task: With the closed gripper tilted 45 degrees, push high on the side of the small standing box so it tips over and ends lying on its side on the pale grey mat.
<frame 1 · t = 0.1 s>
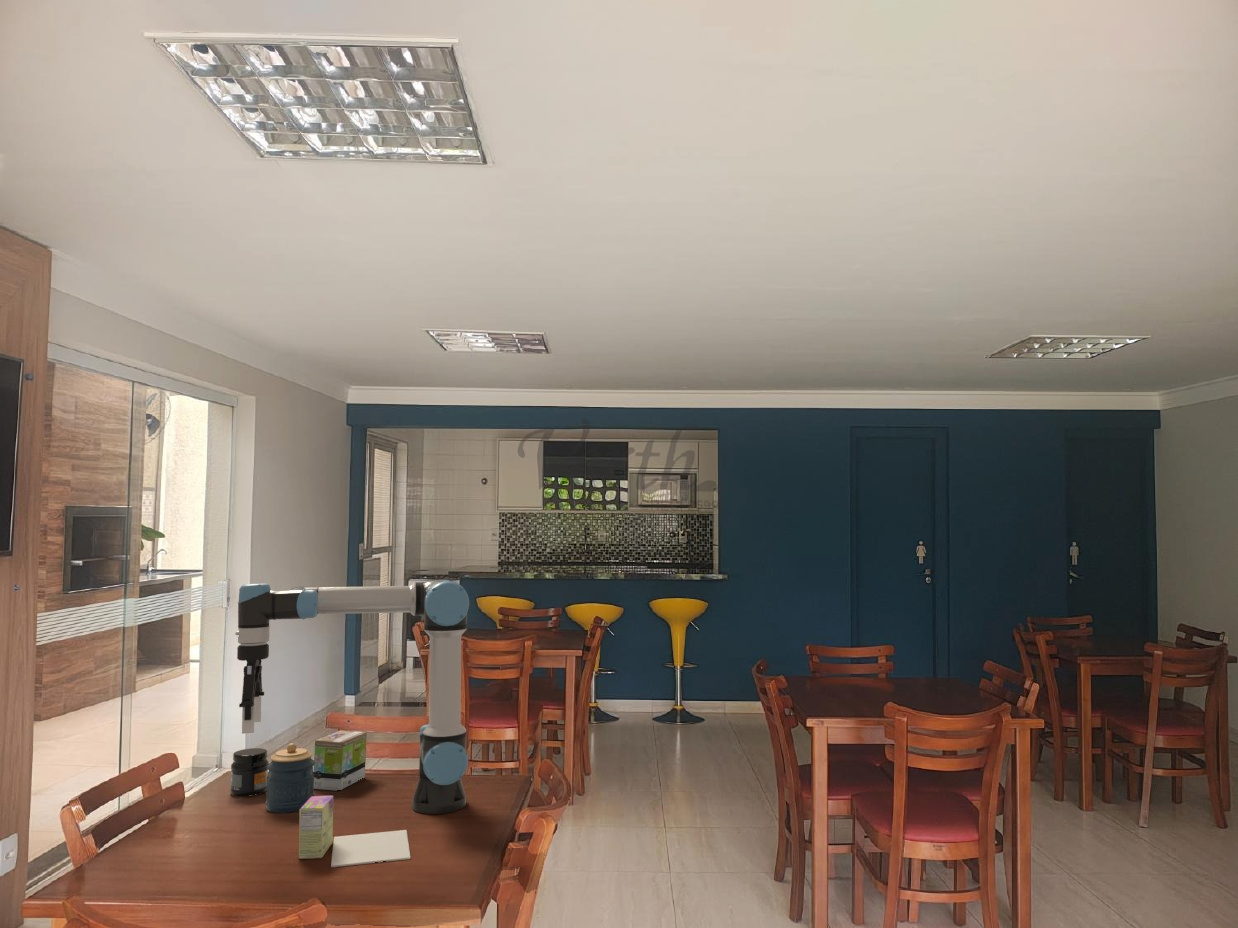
hand: (251, 727, 219), 28 cm above the table, tool pointing down, fingers open, 13 cm apart
tea box: (339, 784, 266), on the table
mat: (370, 848, 210), on the table
supplement container: (248, 793, 256), on the table
canister: (289, 807, 243), on the table
box: (315, 852, 208), on the table
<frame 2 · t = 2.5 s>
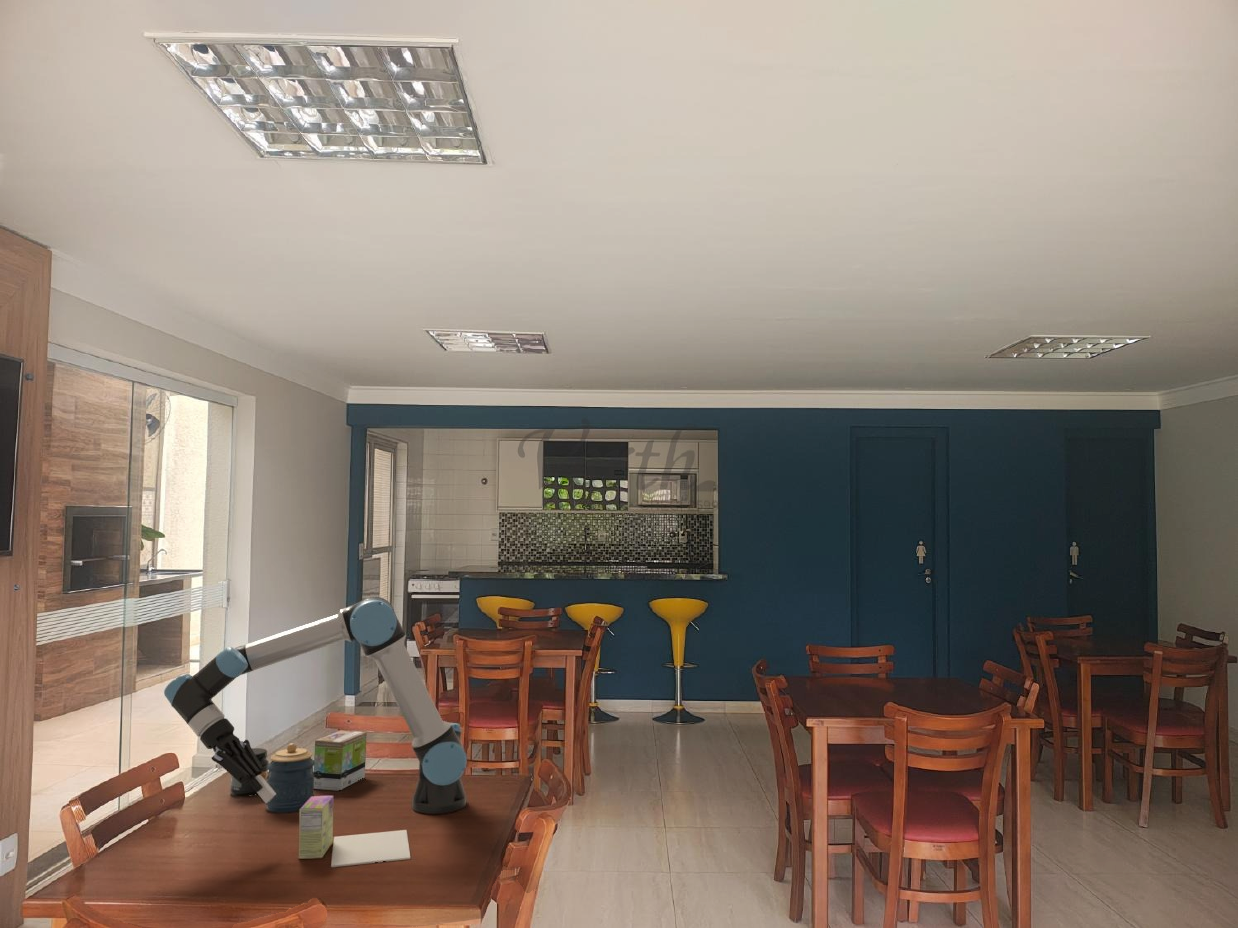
hand: (271, 798, 211), 12 cm above the table, tool tilted 45°, fingers closed
nothing on the table moved.
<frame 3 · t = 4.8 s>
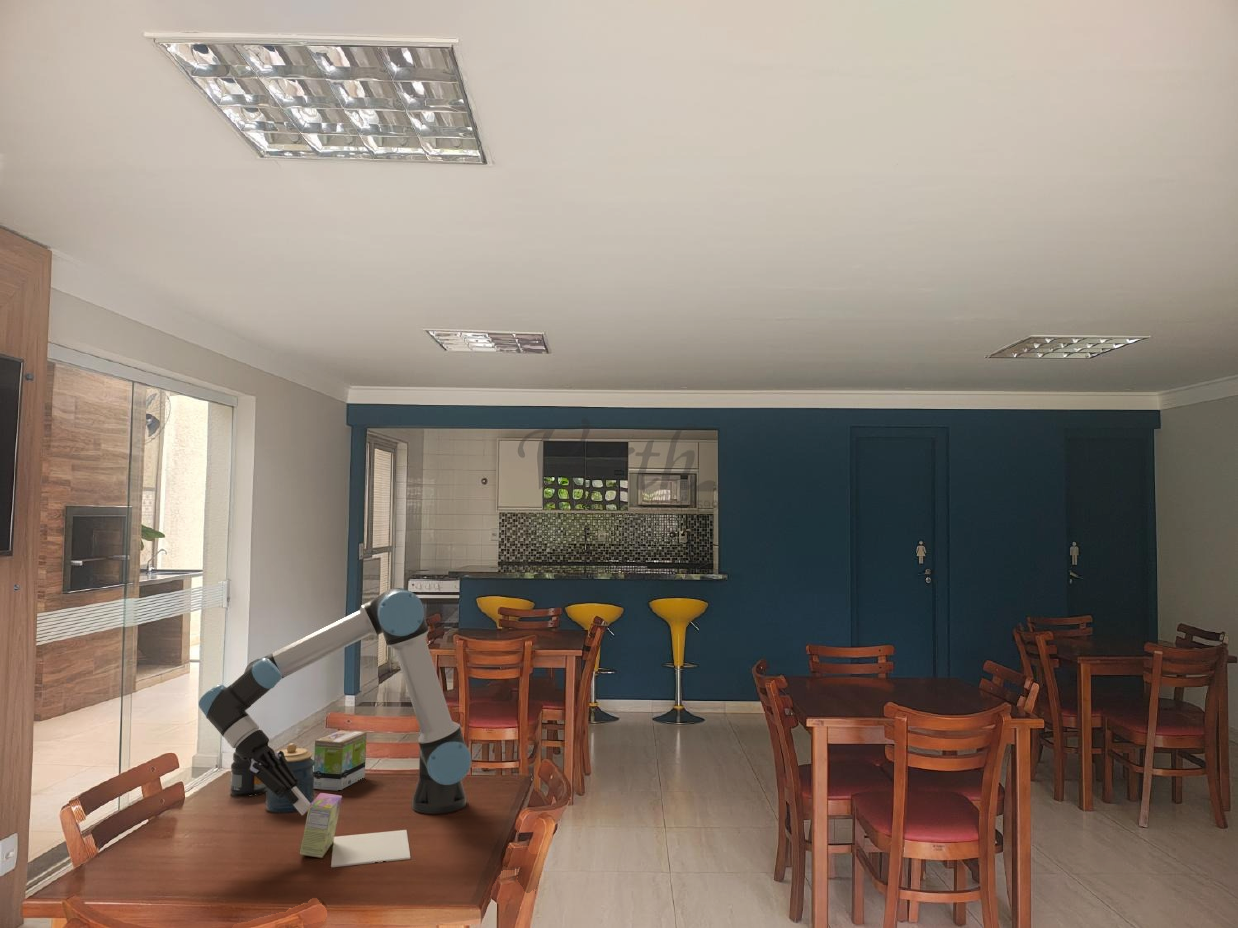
hand: (307, 810, 209), 10 cm above the table, tool tilted 45°, fingers closed
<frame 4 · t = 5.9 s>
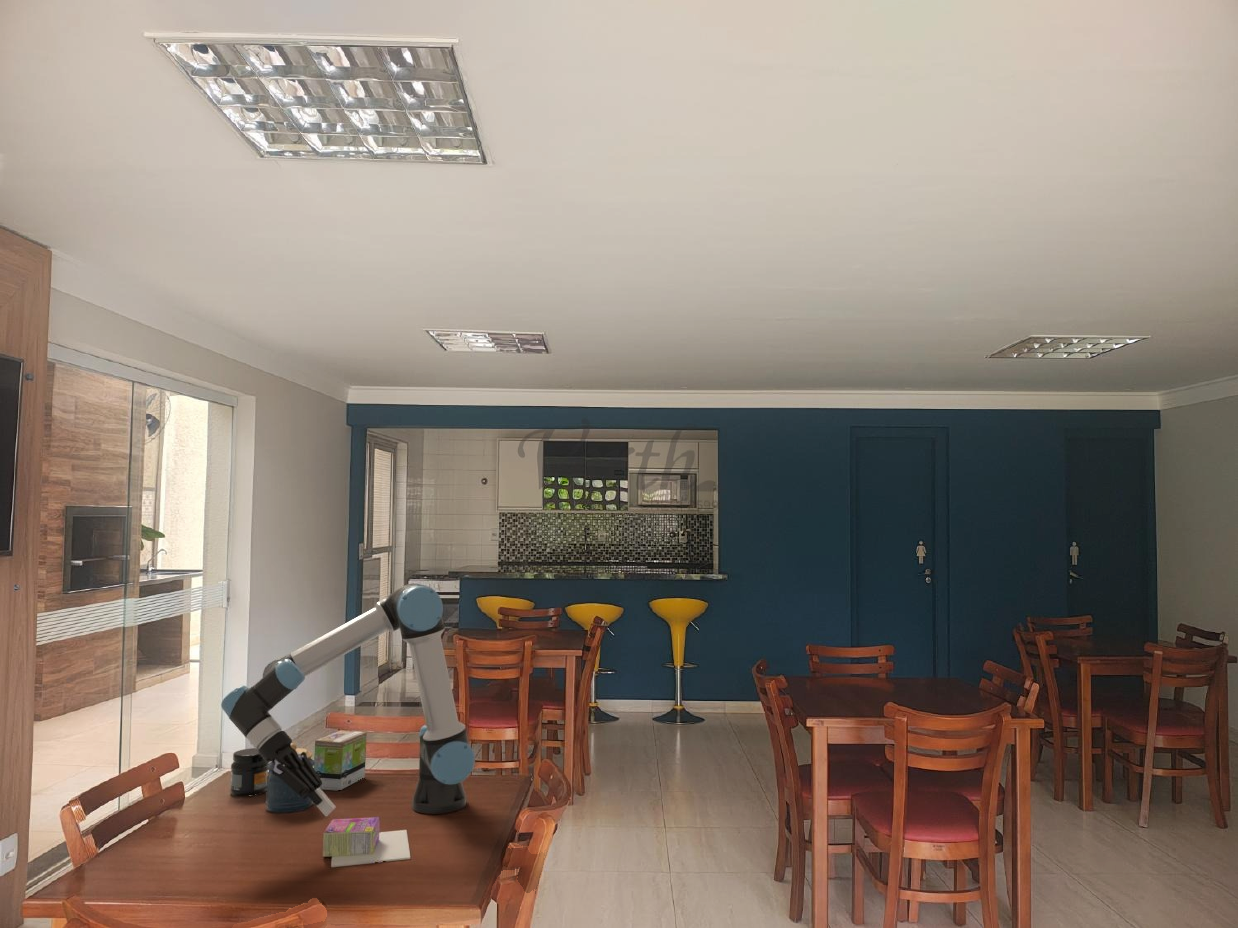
hand: (330, 811, 208), 10 cm above the table, tool tilted 45°, fingers closed
box: (326, 836, 209), point 3 cm above the table, touching mat
everything else where it was.
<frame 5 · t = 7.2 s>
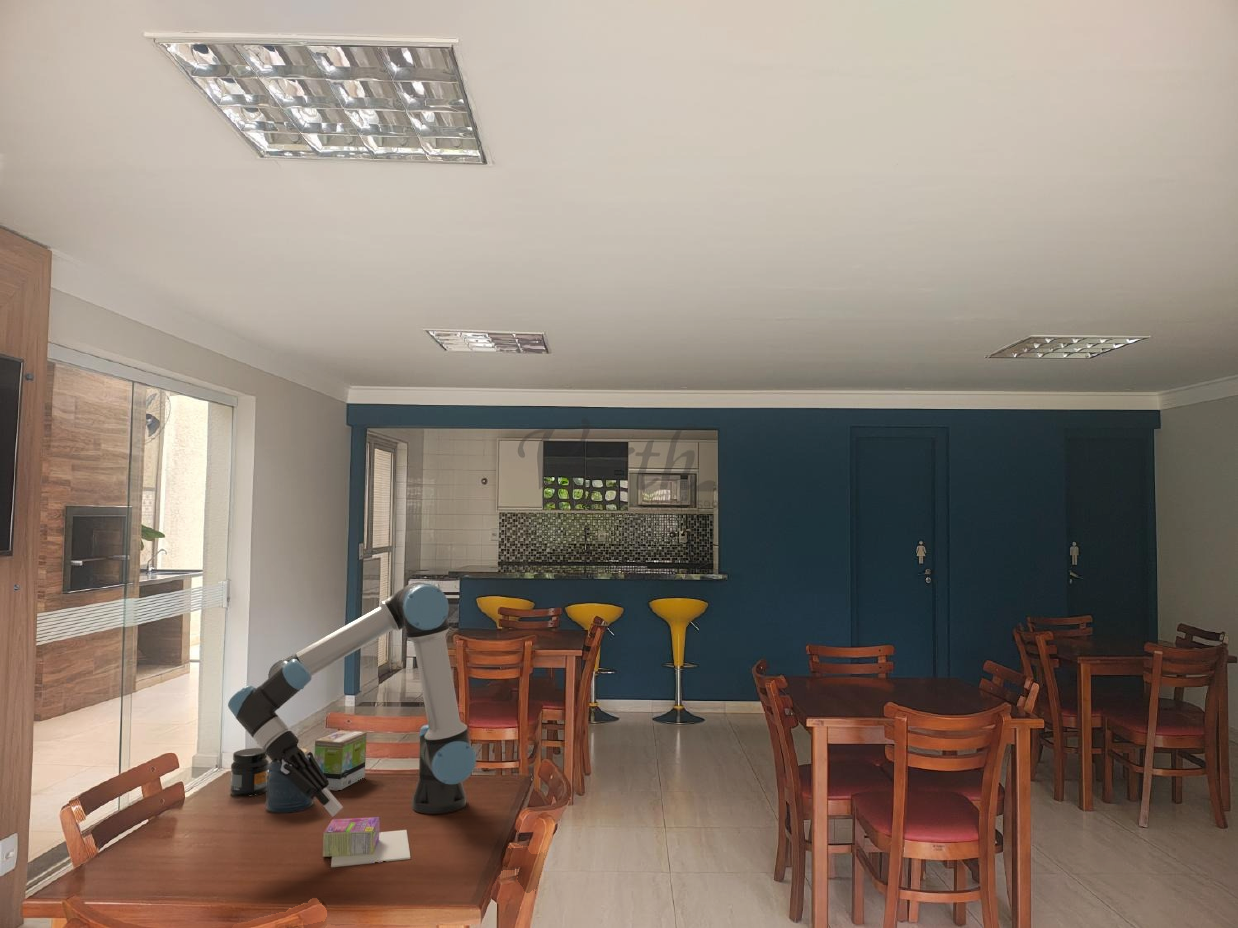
hand: (337, 811, 208), 10 cm above the table, tool tilted 45°, fingers closed
nothing on the table moved.
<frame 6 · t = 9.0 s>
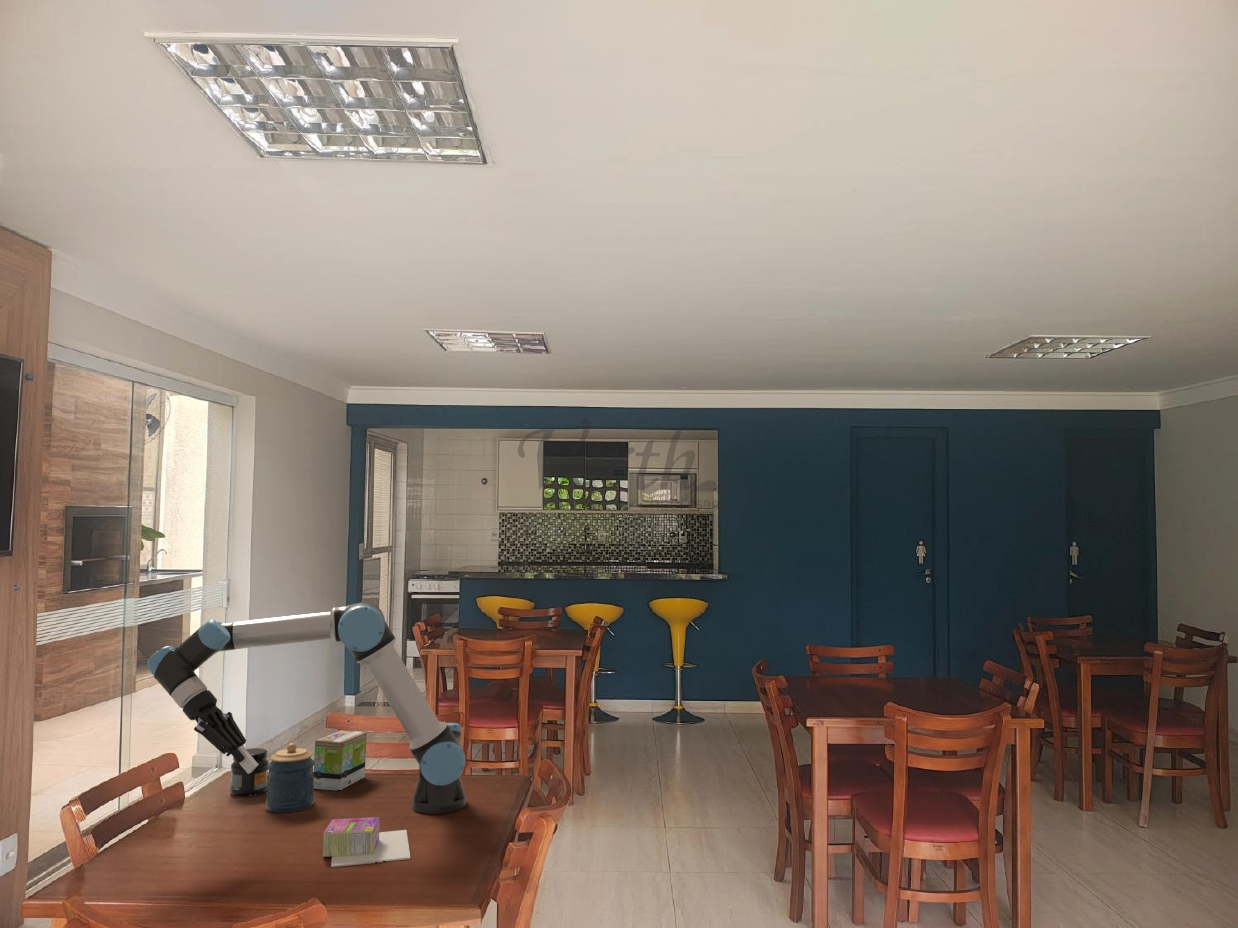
hand: (253, 769, 212), 19 cm above the table, tool tilted 45°, fingers closed
nothing on the table moved.
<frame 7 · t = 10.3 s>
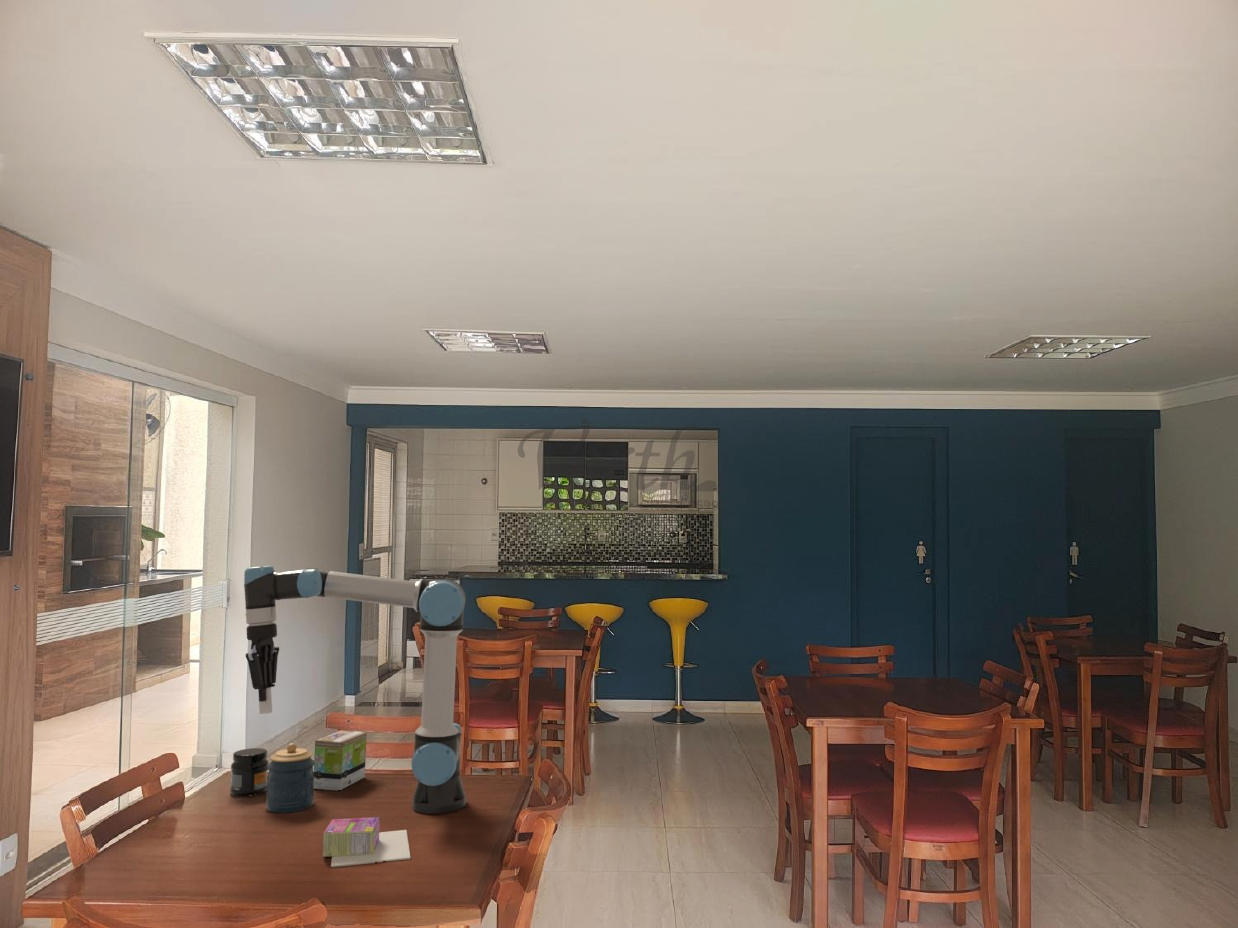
hand: (265, 712, 227), 30 cm above the table, tool pointing down, fingers closed
nothing on the table moved.
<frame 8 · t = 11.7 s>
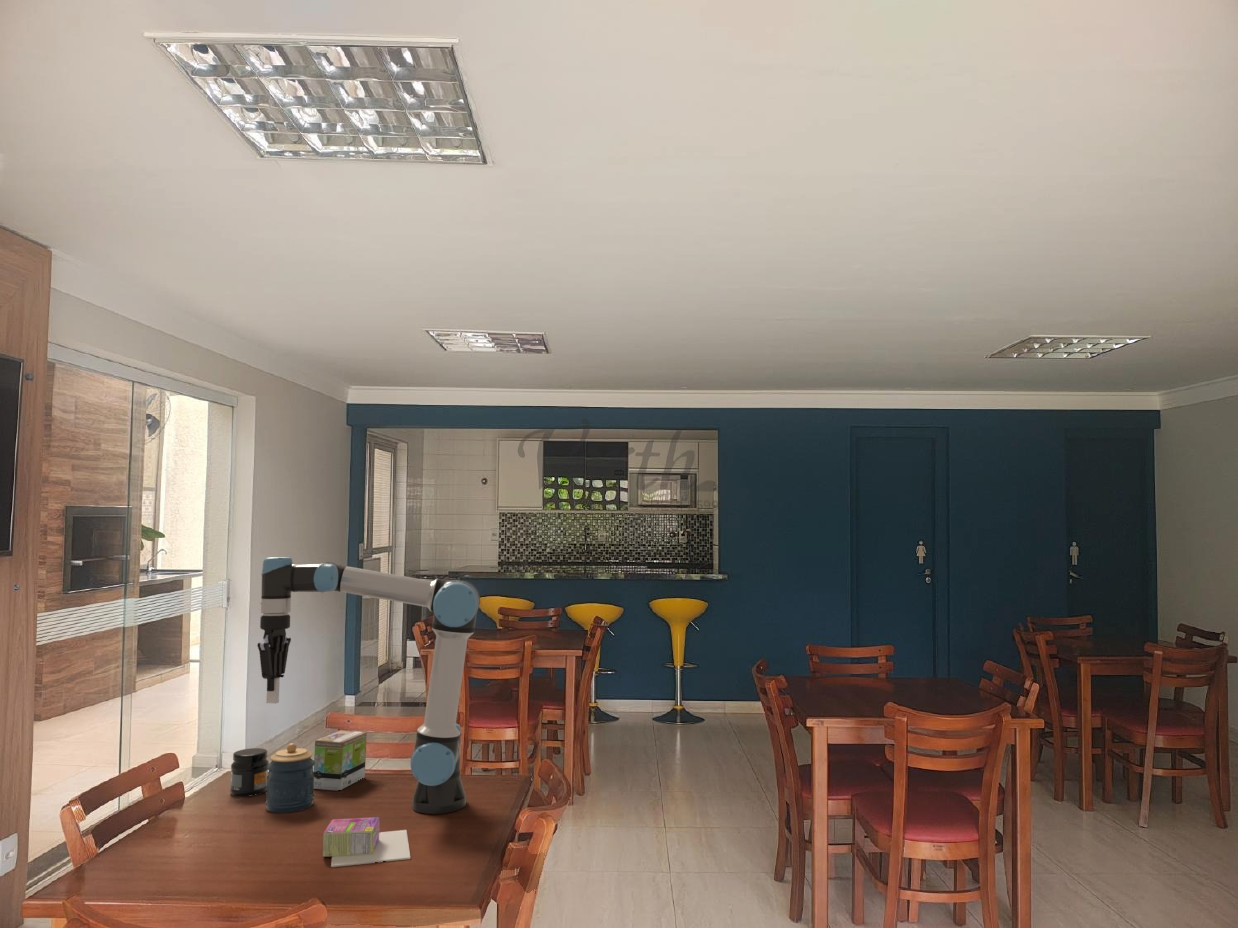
hand: (272, 702, 228), 32 cm above the table, tool pointing down, fingers closed
nothing on the table moved.
at the end: box tilted 90°; box touching mat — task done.
